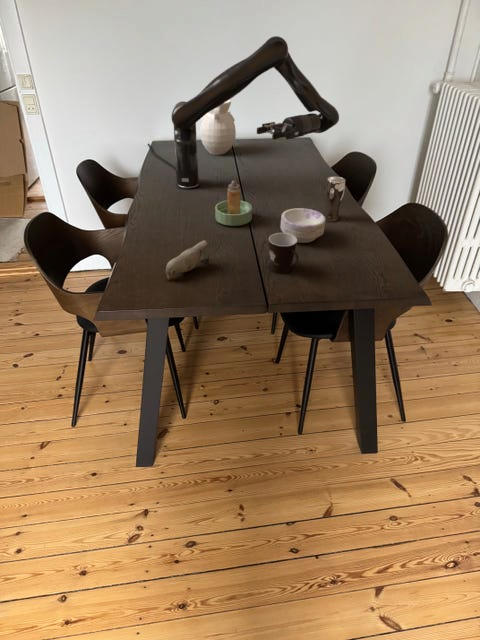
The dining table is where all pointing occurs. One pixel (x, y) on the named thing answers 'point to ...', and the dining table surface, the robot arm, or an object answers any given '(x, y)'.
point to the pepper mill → (234, 198)
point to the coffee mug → (282, 252)
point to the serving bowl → (233, 219)
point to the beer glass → (333, 197)
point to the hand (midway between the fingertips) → (265, 133)
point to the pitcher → (218, 130)
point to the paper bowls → (303, 224)
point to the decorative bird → (186, 260)
